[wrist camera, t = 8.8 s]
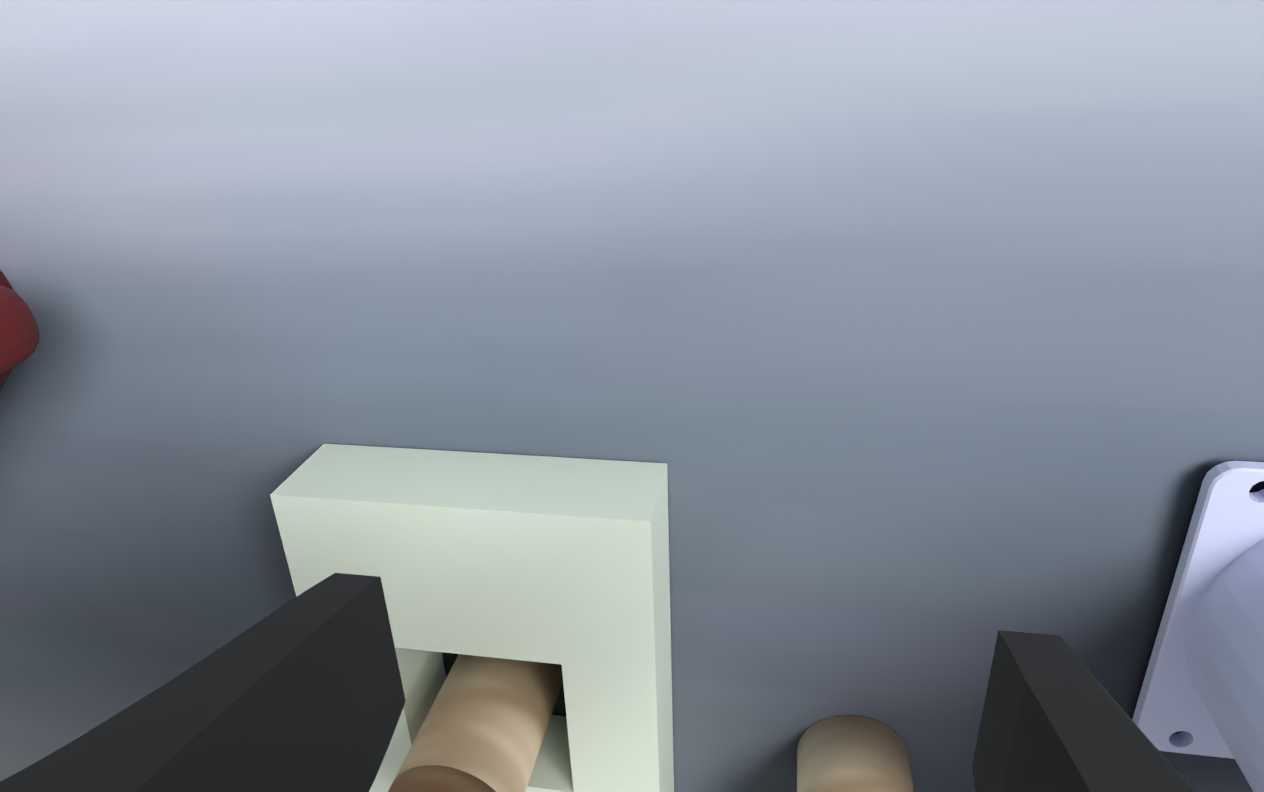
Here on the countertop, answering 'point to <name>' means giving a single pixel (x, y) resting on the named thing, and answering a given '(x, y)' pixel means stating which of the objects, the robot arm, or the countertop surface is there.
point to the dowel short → (852, 757)
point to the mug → (14, 330)
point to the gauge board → (508, 588)
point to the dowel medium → (482, 727)
